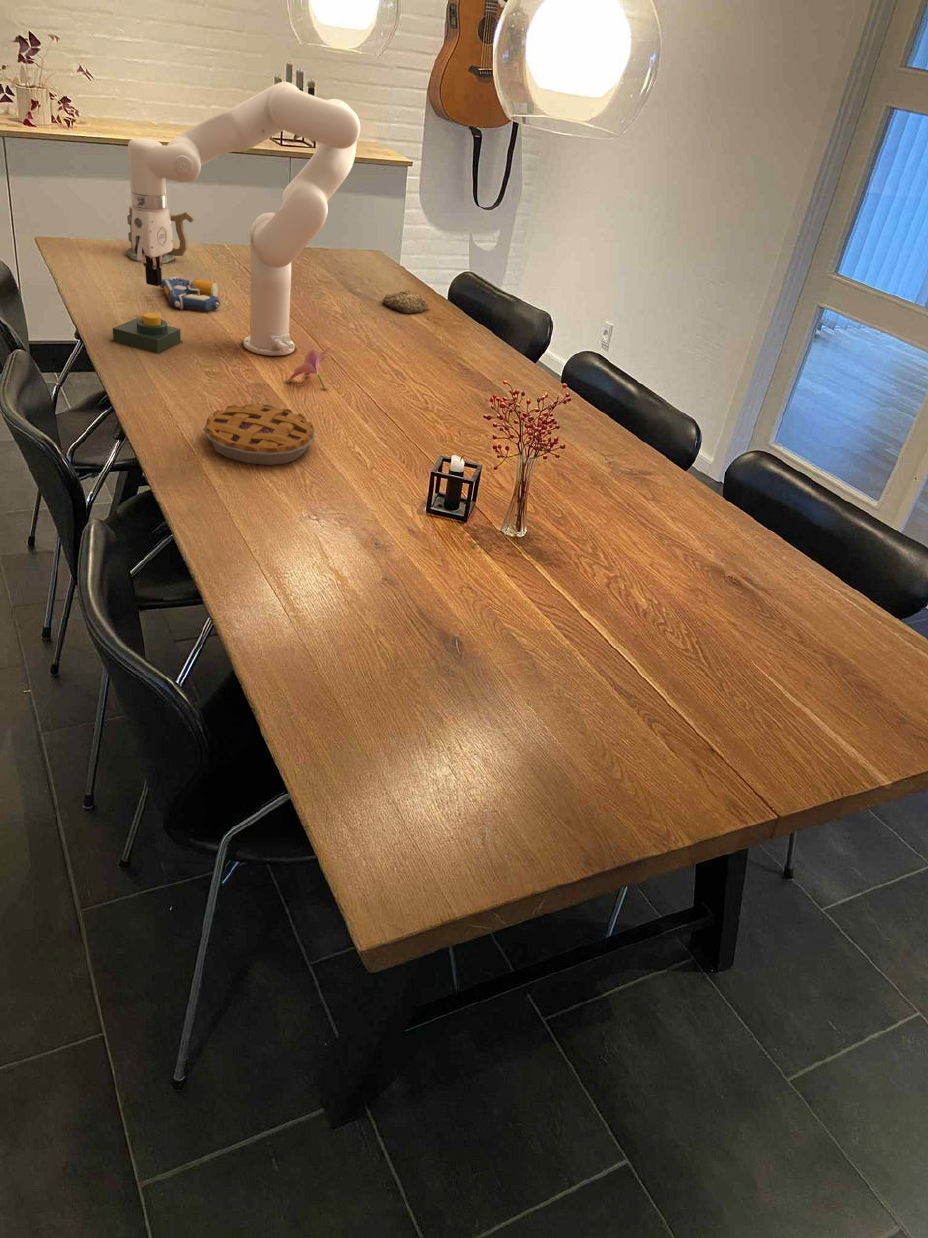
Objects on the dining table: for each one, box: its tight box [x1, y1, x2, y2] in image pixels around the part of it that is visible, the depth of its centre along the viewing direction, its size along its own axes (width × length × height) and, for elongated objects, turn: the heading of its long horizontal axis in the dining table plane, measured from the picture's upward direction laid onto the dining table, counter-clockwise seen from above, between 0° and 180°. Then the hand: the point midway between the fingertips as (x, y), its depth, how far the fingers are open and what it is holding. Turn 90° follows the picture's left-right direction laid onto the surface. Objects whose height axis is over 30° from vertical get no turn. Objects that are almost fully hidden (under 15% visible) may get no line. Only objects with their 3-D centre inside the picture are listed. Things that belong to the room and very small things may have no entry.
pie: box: [203, 403, 316, 466], centre depth 186 cm, size 22×22×5 cm
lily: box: [286, 346, 332, 390], centre depth 215 cm, size 12×12×10 cm
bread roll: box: [382, 290, 429, 314], centre depth 276 cm, size 13×12×5 cm
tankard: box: [126, 205, 195, 264], centre depth 276 cm, size 20×13×15 cm, turn 80°
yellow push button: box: [142, 312, 162, 326], centre depth 221 cm, size 4×4×2 cm
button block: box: [112, 317, 182, 354], centre depth 223 cm, size 12×10×5 cm
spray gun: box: [159, 275, 221, 312], centre depth 253 cm, size 21×4×15 cm
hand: (154, 284), depth 217 cm, fingers closed
